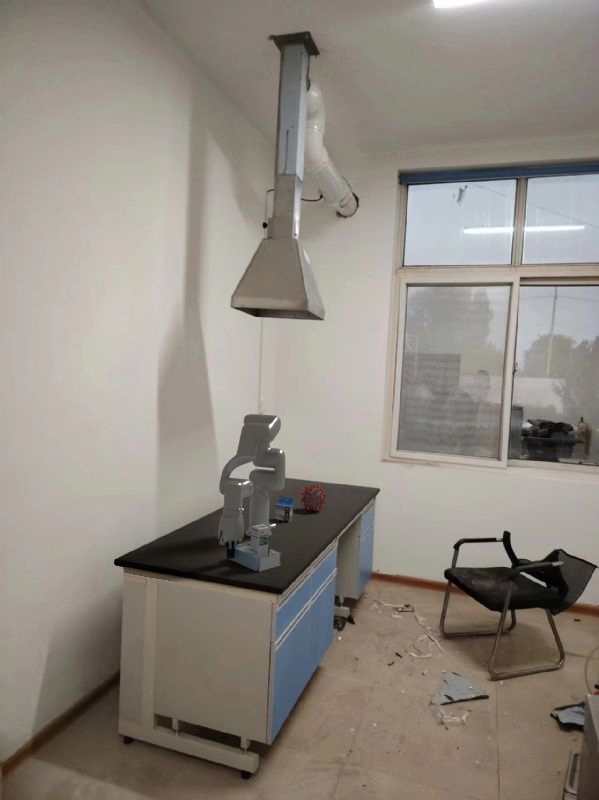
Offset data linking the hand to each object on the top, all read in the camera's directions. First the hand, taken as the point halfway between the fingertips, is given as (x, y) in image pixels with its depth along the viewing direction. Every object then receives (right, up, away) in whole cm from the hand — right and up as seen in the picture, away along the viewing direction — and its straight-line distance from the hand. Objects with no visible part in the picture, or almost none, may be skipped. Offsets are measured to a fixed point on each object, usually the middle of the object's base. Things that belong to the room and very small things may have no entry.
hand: (230, 557), depth 206 cm
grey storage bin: (+9, -3, +3) cm, 10 cm away
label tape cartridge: (+19, -1, +68) cm, 71 cm away
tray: (+9, -3, +3) cm, 10 cm away
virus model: (+36, -1, +91) cm, 98 cm away
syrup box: (+12, -2, 0) cm, 12 cm away
